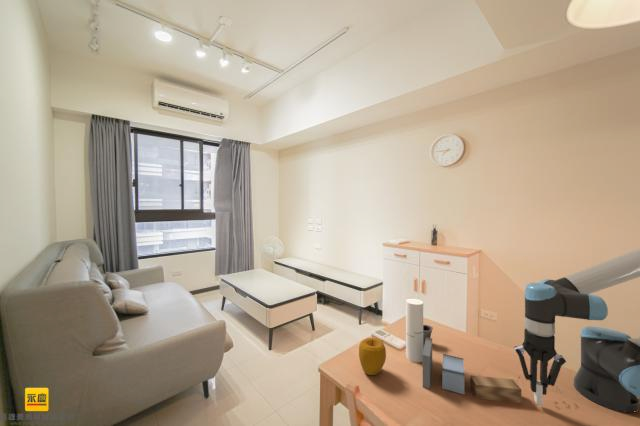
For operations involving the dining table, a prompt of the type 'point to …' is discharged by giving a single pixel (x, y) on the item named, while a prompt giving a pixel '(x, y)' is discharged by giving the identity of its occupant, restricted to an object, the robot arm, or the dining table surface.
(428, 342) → the wall
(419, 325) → the cylindrical container
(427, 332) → the pipe
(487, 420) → the dining table surface
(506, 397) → the wooden slab
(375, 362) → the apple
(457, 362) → the block
